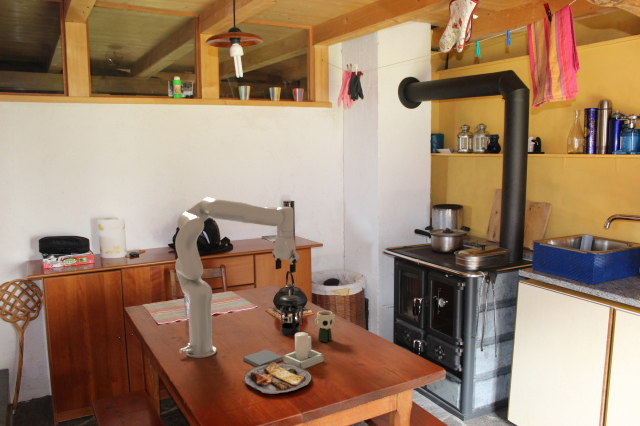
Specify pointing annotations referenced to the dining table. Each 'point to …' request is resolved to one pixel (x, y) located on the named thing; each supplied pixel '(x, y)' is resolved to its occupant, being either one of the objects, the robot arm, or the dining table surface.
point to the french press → (290, 321)
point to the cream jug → (302, 346)
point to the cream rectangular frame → (314, 359)
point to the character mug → (324, 325)
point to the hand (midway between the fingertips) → (285, 270)
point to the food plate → (277, 377)
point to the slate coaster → (262, 358)
